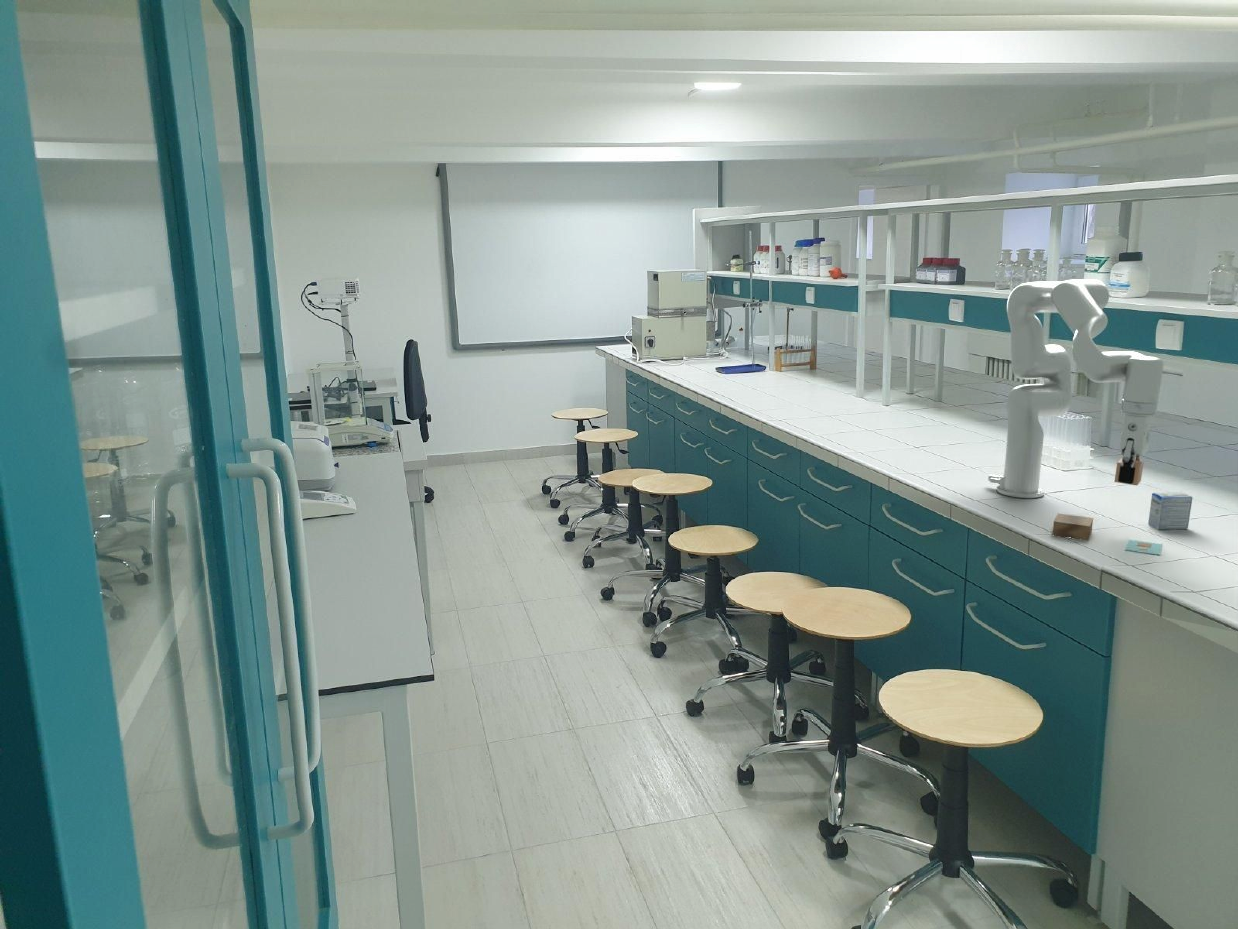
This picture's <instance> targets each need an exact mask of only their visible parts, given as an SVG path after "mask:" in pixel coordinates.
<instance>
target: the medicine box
mask: <svg viewBox="0 0 1238 929" xmlns="http://www.w3.org/2000/svg"><path fill="white" fill-rule="evenodd" d="M1192 504H1193V496H1192V495H1190V494H1188V493H1186V492H1182V491H1165V492H1153V493H1152V494H1151V500H1150V508H1149V515H1148V523H1147V524H1148V525H1149V526H1151V527H1152V528H1154V529H1156V530H1181V529H1183V530H1184V529H1185V530H1187V529H1189V524H1190V517H1191V511H1192Z"/></svg>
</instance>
